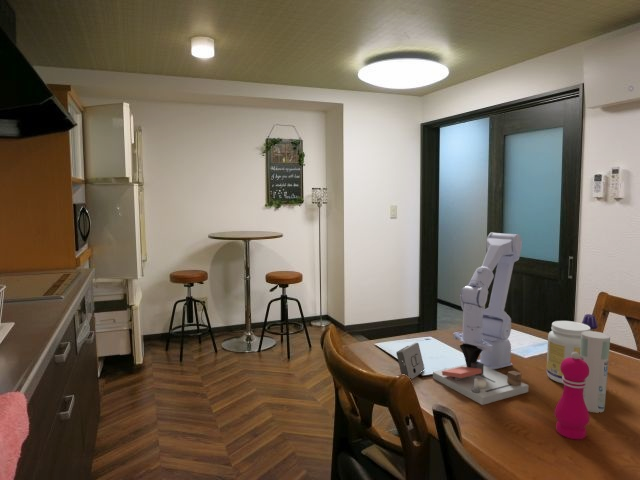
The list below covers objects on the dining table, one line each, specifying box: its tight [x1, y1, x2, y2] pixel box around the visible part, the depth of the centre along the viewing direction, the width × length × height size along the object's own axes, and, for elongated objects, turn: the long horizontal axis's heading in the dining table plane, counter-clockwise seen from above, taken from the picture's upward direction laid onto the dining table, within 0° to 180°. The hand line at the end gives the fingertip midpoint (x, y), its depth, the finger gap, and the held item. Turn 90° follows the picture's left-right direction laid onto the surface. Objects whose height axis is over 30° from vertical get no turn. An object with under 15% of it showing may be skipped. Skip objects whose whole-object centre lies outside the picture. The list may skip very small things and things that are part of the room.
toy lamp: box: [581, 313, 598, 331], centre depth 153 cm, size 5×5×17 cm
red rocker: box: [442, 367, 482, 378], centre depth 137 cm, size 8×8×1 cm
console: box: [432, 364, 529, 406], centre depth 137 cm, size 18×20×6 cm
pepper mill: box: [554, 352, 590, 440], centre depth 109 cm, size 7×7×20 cm
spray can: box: [580, 331, 611, 414], centre depth 122 cm, size 6×6×20 cm
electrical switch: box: [396, 342, 425, 380], centre depth 146 cm, size 9×5×9 cm, turn 141°
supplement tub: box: [545, 320, 590, 384], centre depth 141 cm, size 12×12×17 cm
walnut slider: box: [506, 370, 522, 386], centre depth 133 cm, size 2×3×3 cm
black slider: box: [471, 361, 484, 376], centre depth 140 cm, size 3×2×3 cm
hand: (470, 367), depth 143 cm, fingers closed
